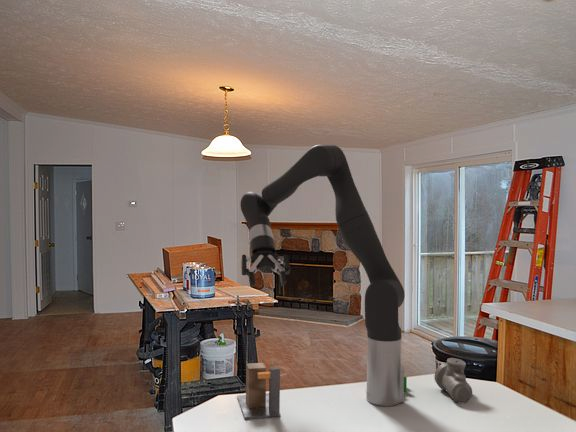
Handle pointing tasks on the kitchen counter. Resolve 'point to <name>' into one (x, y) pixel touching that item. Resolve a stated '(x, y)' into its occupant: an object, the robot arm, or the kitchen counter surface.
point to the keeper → (271, 398)
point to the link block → (255, 385)
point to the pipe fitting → (453, 379)
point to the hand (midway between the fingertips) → (268, 284)
